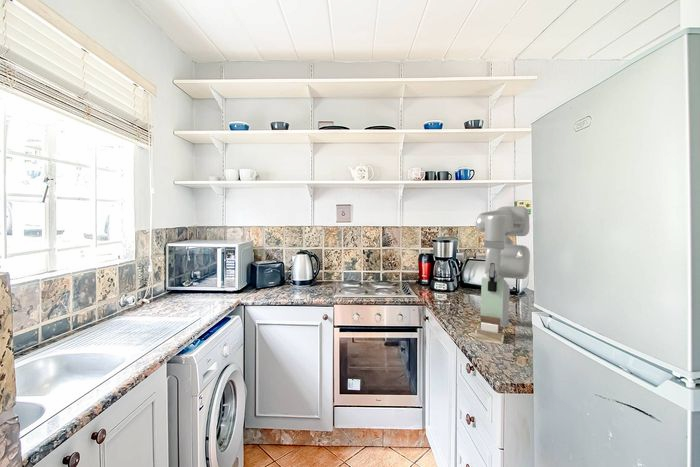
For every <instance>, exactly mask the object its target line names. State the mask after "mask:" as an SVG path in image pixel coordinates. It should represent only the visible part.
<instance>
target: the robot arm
mask: <svg viewBox="0 0 700 467" xmlns="http://www.w3.org/2000/svg"><path fill="white" fill-rule="evenodd" d="M475 228H476V230H477V231H478V232H480V233H484V235H483V236H484V238H483V239H484V241H483V249H485V250H486V252H485V264H484V274H486V278H489V281H488V291H491V292H496V291H497V282H496V279H504V291H503V319H502V320H500V326H502V327H503V328H504V327H506V328H507V327H510V326H512V325H513V324H512V323H511V322H510V321H509V313H510V312H509V311H510V293H511V292H510V291H511V290H510V285H509V284H508V283H509V282H507V281H506V280H505V279H516V280H524V279H526V278H527V277H528V275H529V272H530V262H531V260H530V259H531V253H530V250H529V248H528V247H527V246H526V245H523V244H522V245H519V244H514V242H513V241H512V240H511V239H510V237H525V236H527V235H528V234H529V233H530V228H531V226H530V214H529V210H528V208H526V206H522V205H519V206H518V205H514V206H513V205H511V206H506V205H504V206H501V207H500V206H499V208H497V209H496V210H495V209H494V210H490V211H486V212H485V211H484V212H481V213H479V214H478V216H477V217H476V219H475Z"/></svg>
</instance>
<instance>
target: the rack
mask: <svg viewBox="0 0 700 467" xmlns="http://www.w3.org/2000/svg"><path fill="white" fill-rule="evenodd" d="M480 323H481V322H479V323H478V324H477V325H476V326H477V327H476V329H475V331H474V339H475V340H479V341H484V342H490V343H495V344H499V345H504V340H505V329H504V327H502V326H500V331H498V333H495V332H490V331H484V330H481V328H480Z"/></svg>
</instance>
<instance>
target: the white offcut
mask: <svg viewBox="0 0 700 467" xmlns="http://www.w3.org/2000/svg"><path fill="white" fill-rule="evenodd" d="M480 323H481V330H484V331H490V332H495V333H498V325H496V324H490V323H484V322H481V321H480Z"/></svg>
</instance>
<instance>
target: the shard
mask: <svg viewBox="0 0 700 467" xmlns="http://www.w3.org/2000/svg"><path fill="white" fill-rule="evenodd" d="M467 324H470V325H474V326H478V322H476V321H474V320H469V321H467Z"/></svg>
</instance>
